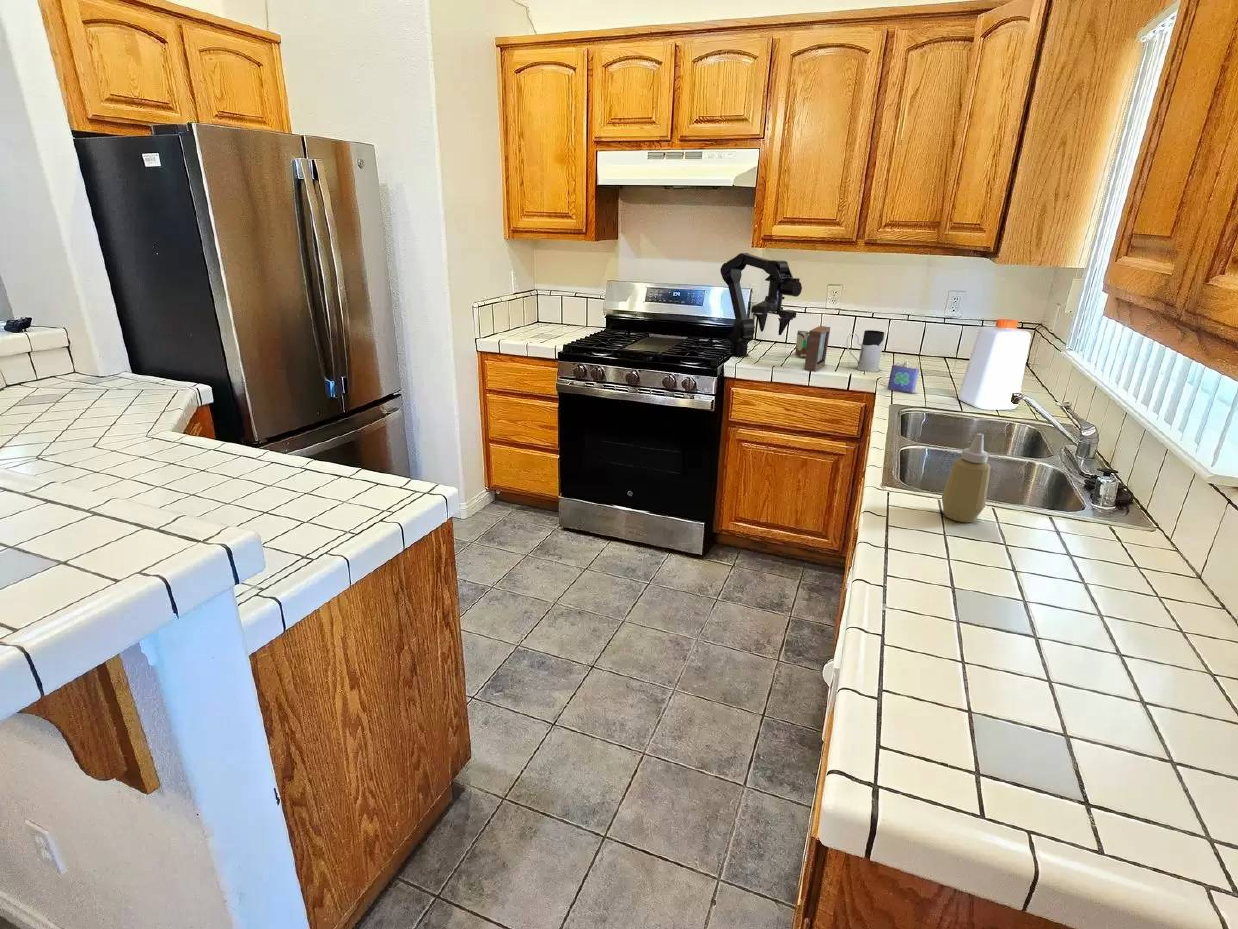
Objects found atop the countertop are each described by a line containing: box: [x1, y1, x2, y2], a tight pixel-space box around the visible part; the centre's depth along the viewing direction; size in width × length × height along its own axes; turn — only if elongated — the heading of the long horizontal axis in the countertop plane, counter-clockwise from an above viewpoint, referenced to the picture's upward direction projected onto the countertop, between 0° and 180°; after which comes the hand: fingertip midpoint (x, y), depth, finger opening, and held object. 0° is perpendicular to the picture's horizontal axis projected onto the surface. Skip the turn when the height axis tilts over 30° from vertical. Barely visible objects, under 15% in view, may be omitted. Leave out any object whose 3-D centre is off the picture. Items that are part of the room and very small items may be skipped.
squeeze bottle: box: [941, 432, 991, 523], centre depth 130 cm, size 8×8×18 cm
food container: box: [794, 329, 810, 359], centre depth 280 cm, size 12×6×10 cm, turn 179°
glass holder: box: [846, 329, 885, 373], centre depth 260 cm, size 9×14×15 cm, turn 77°
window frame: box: [803, 325, 831, 372], centre depth 259 cm, size 15×4×15 cm, turn 149°
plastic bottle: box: [957, 318, 1032, 411], centre depth 213 cm, size 15×15×28 cm
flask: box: [887, 360, 920, 394], centre depth 228 cm, size 9×3×11 cm, turn 51°
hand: (770, 333), depth 261 cm, fingers open, 9 cm apart
